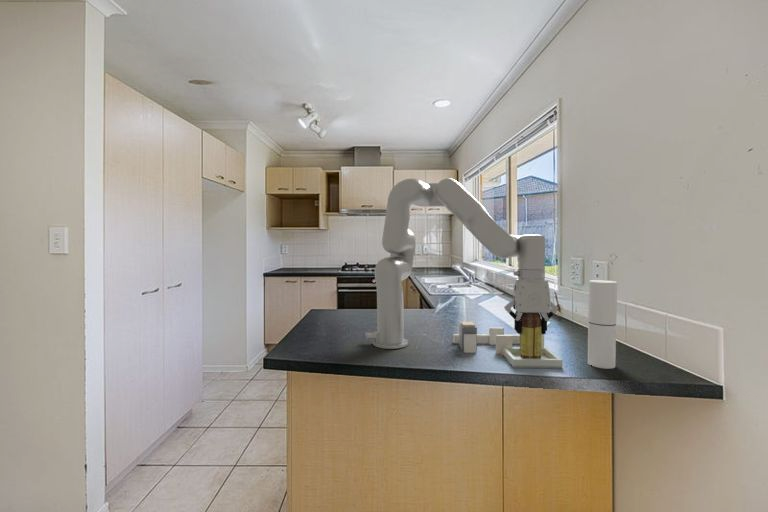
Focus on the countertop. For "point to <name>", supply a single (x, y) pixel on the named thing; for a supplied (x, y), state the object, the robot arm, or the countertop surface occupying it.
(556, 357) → the tray
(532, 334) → the sauce bottle
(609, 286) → the cylindrical container
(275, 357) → the countertop surface
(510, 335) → the clip rack
